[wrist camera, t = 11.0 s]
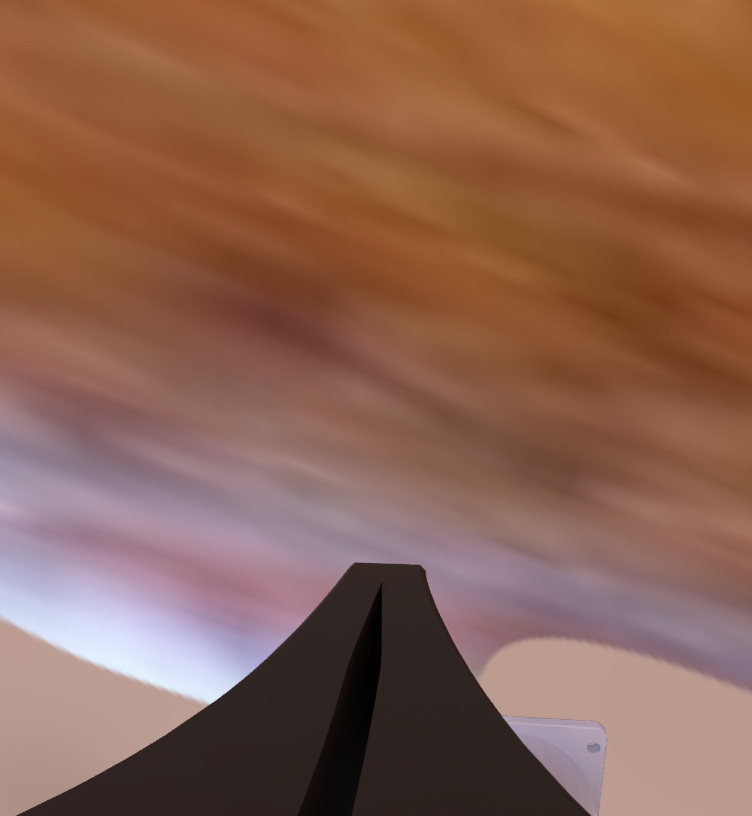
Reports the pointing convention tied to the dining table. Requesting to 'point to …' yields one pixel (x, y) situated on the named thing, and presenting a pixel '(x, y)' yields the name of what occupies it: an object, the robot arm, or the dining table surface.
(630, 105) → the dining table surface
